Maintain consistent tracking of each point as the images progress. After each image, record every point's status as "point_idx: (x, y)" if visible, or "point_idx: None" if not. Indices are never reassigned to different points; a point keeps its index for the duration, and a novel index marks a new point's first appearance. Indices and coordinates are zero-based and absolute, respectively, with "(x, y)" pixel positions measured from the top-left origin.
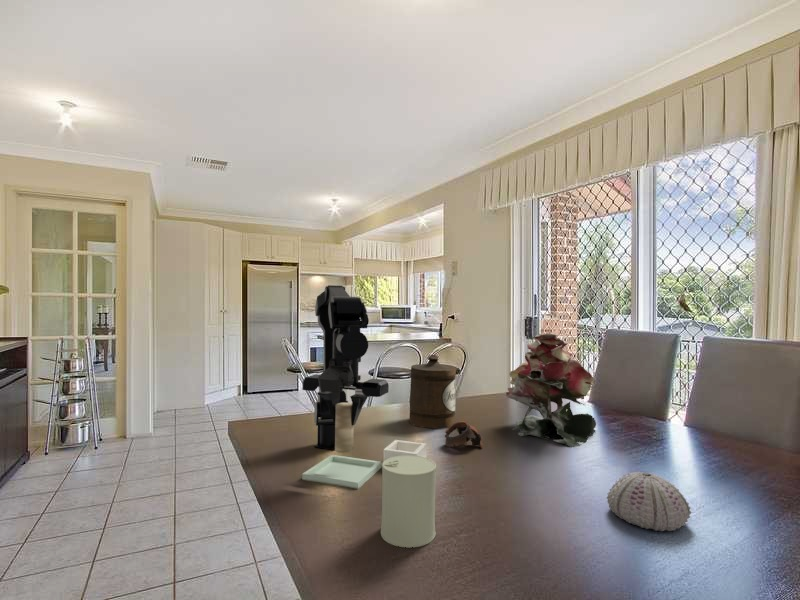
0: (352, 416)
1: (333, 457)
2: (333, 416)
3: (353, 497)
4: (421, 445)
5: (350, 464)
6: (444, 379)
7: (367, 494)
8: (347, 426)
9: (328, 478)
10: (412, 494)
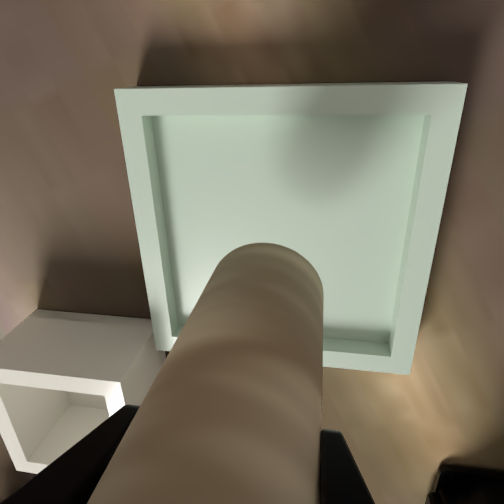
0: (69, 475)
1: (389, 353)
2: (343, 494)
3: (126, 26)
4: (19, 451)
5: None
6: None
7: (93, 87)
8: (161, 371)
9: (286, 86)
10: None
